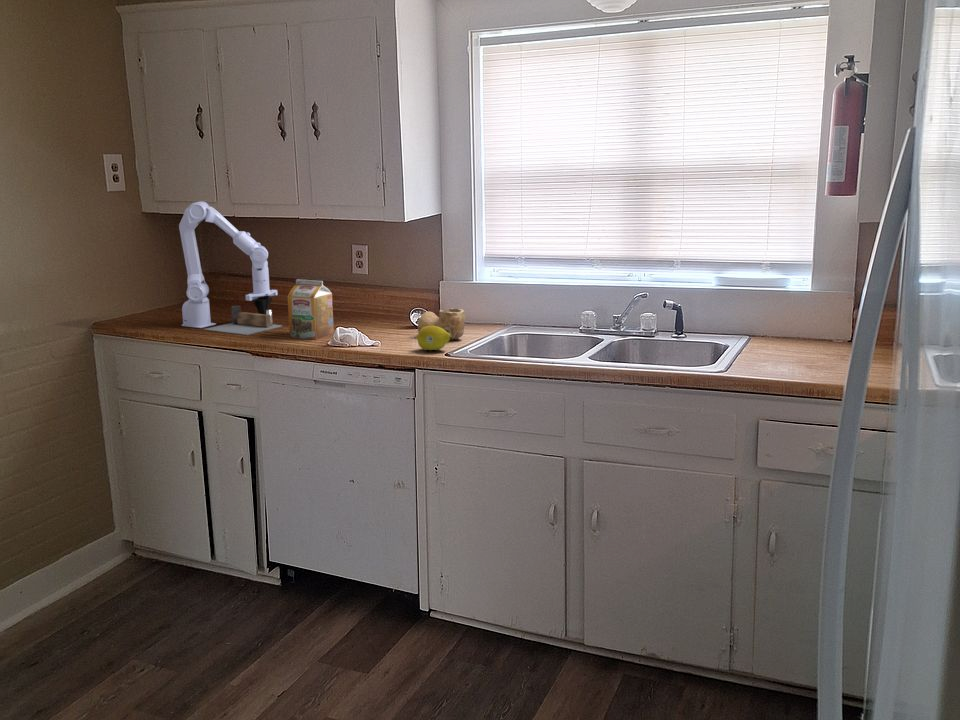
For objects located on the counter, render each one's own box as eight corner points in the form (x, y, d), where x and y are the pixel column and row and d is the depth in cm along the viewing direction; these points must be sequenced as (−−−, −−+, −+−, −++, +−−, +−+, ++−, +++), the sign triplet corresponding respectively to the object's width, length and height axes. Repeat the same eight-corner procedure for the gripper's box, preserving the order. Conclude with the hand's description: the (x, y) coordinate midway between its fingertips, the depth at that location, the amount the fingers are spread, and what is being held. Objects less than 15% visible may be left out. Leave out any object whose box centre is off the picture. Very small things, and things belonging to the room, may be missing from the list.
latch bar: (230, 323, 316) (229, 306, 315) (236, 321, 319) (235, 305, 317) (265, 327, 308) (264, 310, 307) (271, 325, 311) (270, 309, 310)
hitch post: (265, 326, 313) (264, 310, 311) (269, 325, 314) (268, 309, 313) (270, 327, 312) (269, 310, 310) (273, 326, 313) (272, 309, 312)
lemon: (411, 352, 272) (411, 326, 270) (423, 347, 279) (422, 322, 277) (443, 355, 267) (442, 329, 265) (454, 349, 274) (453, 324, 272)
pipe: (432, 333, 300) (431, 304, 298) (471, 338, 291) (470, 309, 289) (415, 338, 292) (415, 308, 290) (455, 343, 284) (455, 313, 281)
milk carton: (333, 334, 299) (331, 279, 295) (316, 339, 290) (313, 283, 286) (308, 331, 304) (305, 277, 299) (289, 337, 294) (286, 281, 290)
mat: (204, 329, 307) (204, 329, 307) (240, 321, 322) (240, 320, 322) (246, 335, 298) (246, 334, 298) (282, 326, 313) (282, 325, 313)
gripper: (255, 283, 306) (257, 321, 309) (283, 278, 318) (285, 315, 321) (240, 282, 309) (242, 320, 312) (268, 277, 321) (270, 313, 324)
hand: (263, 317), depth 317 cm, fingers closed
